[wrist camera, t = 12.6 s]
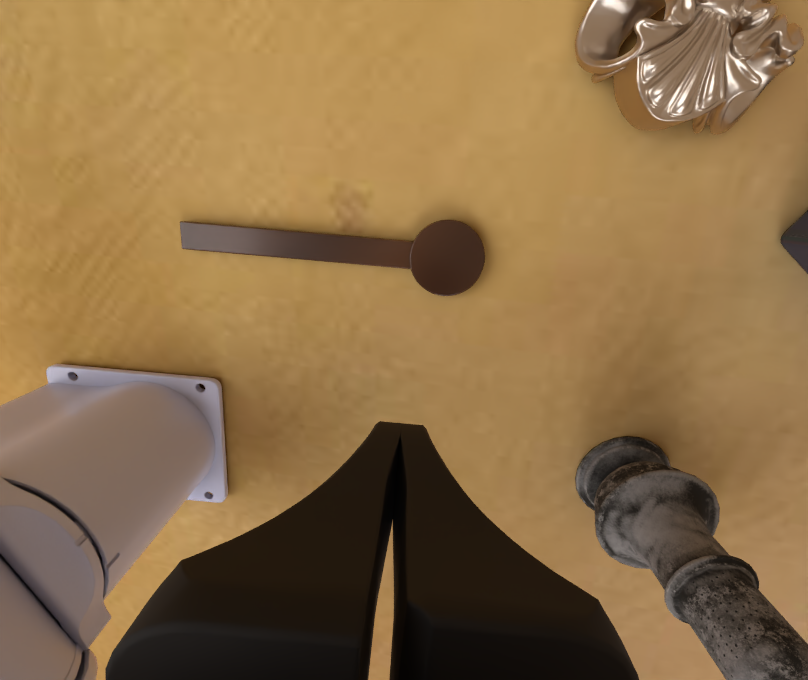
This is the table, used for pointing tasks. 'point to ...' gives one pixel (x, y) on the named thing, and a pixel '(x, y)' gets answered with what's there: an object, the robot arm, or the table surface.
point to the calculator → (798, 241)
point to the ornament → (686, 57)
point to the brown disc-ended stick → (358, 250)
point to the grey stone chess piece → (687, 558)
